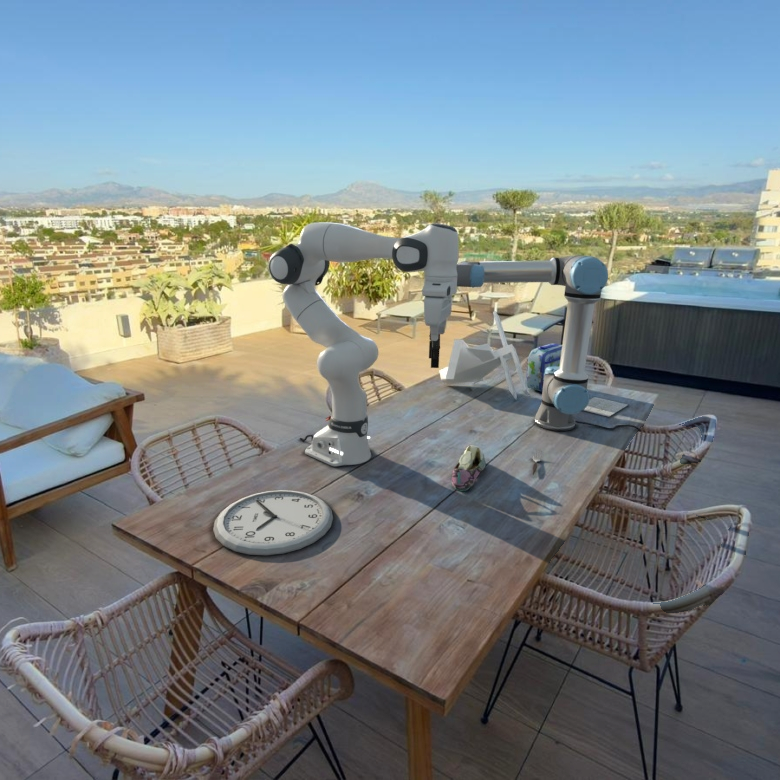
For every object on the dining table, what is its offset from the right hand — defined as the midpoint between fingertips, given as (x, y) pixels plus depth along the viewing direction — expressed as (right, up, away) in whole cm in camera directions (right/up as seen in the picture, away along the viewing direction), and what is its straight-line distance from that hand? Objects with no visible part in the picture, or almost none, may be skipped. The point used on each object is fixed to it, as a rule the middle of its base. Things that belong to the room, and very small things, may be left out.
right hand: (433, 362), depth 188 cm
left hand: (-2, +5, -42) cm, 43 cm away
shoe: (+9, -36, -26) cm, 45 cm away
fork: (+31, -34, -19) cm, 50 cm away
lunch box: (+60, -9, +64) cm, 88 cm away
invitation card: (+76, -17, +39) cm, 87 cm away
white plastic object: (+26, -11, +56) cm, 62 cm away
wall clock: (-45, -44, -53) cm, 82 cm away
